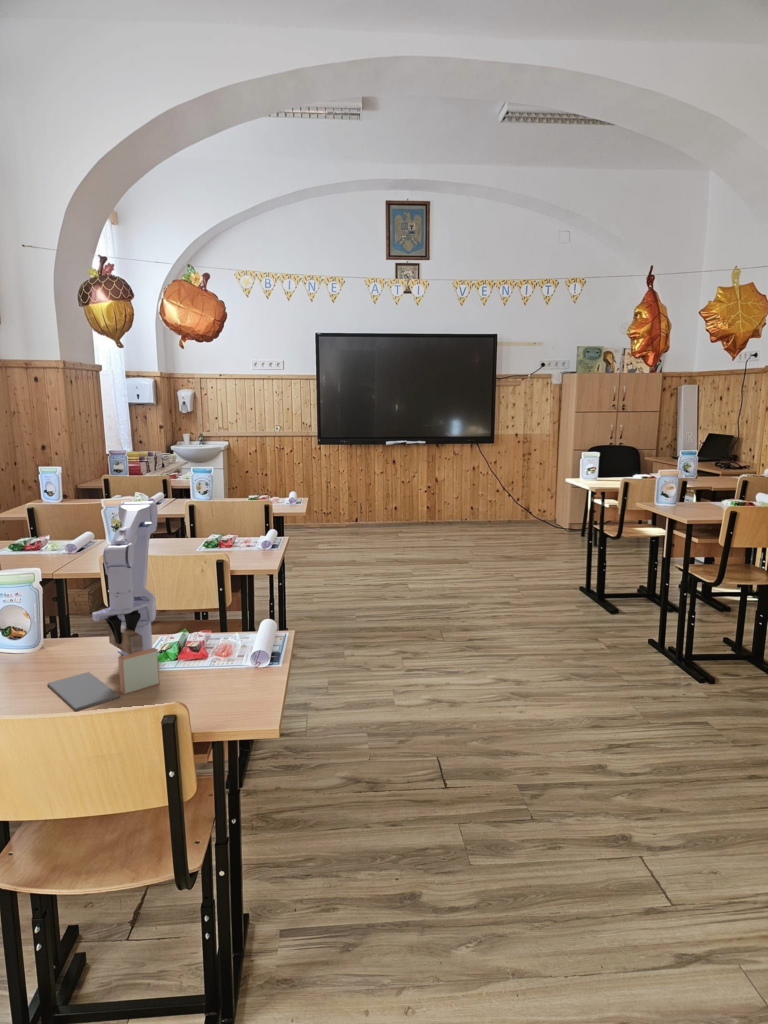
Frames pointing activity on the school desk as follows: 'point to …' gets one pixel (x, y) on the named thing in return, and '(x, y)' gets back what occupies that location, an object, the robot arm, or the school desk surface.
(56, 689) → the mat
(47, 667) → the school desk surface
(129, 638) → the brown block
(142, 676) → the tile
